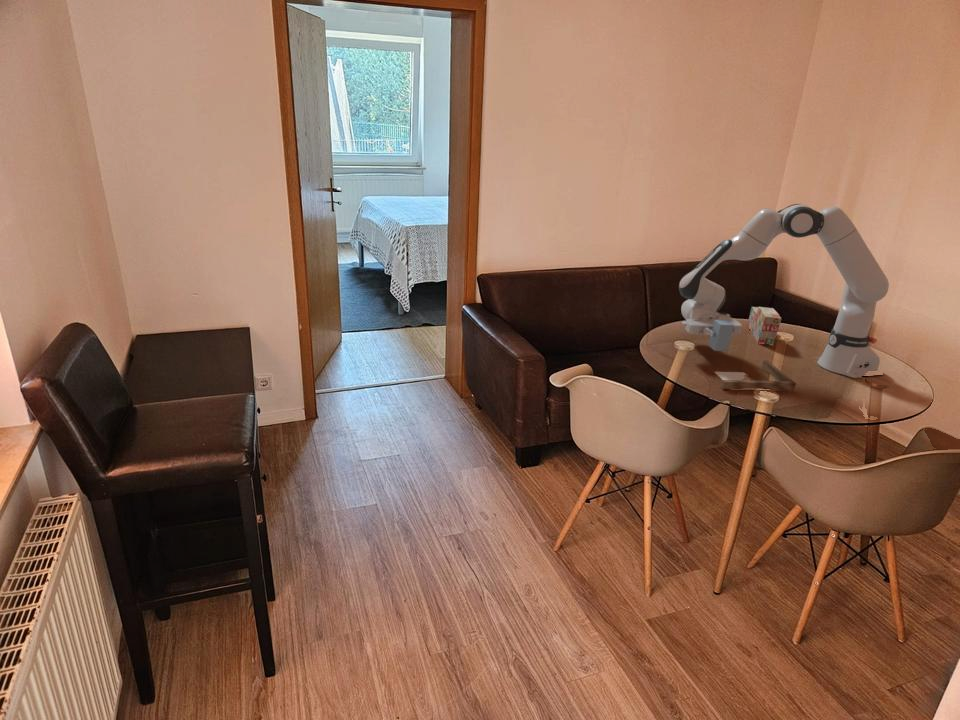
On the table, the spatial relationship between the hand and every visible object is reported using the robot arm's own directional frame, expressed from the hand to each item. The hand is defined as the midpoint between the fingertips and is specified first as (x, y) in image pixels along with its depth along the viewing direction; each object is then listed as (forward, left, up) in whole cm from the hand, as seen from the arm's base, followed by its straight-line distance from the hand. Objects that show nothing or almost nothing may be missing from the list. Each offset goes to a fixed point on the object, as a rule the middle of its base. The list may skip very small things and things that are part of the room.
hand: (722, 334), depth 217 cm
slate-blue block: (0, -1, -6) cm, 6 cm away
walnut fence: (-6, +10, -12) cm, 17 cm away
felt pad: (-3, +11, -12) cm, 17 cm away
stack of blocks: (-35, -32, -13) cm, 49 cm away
